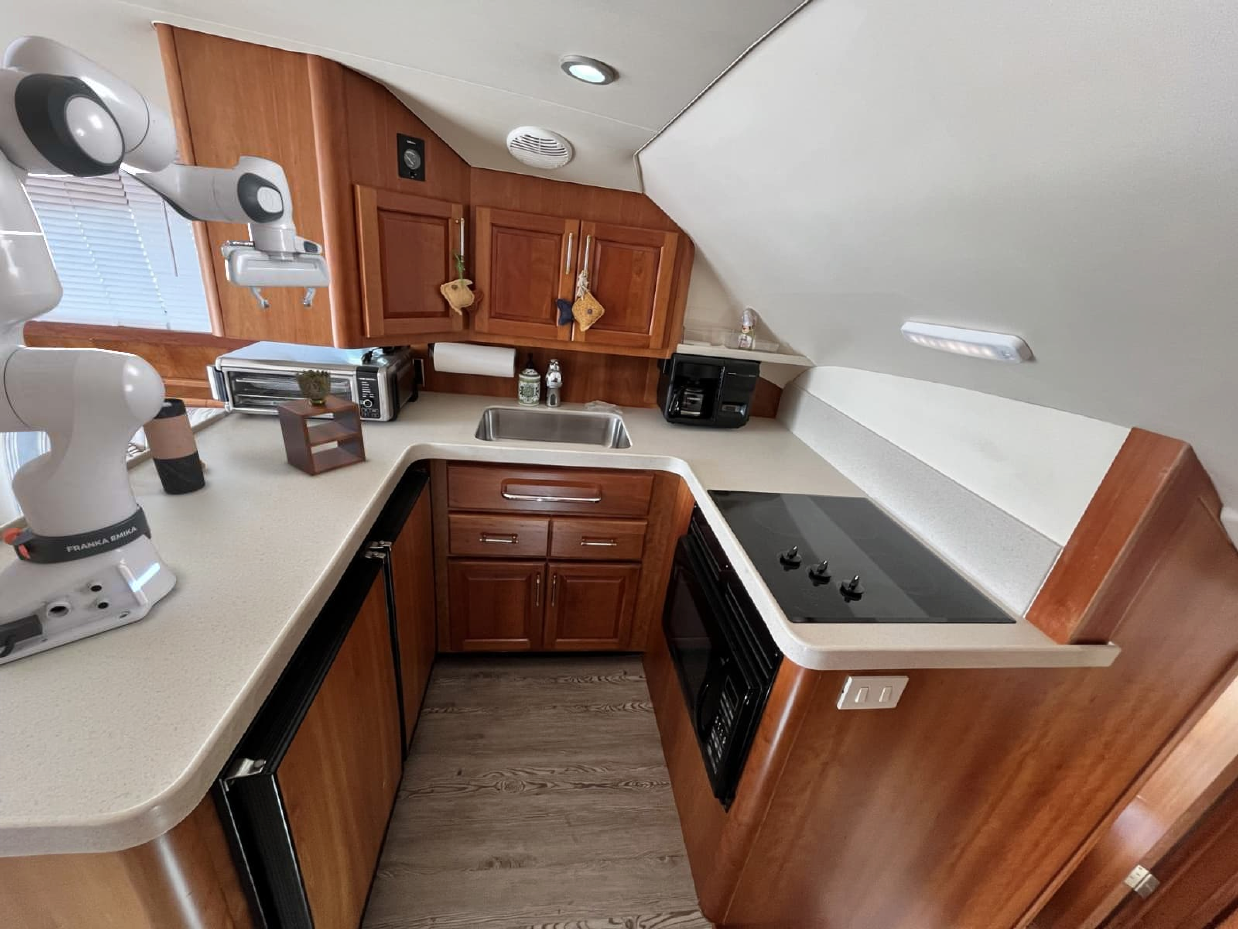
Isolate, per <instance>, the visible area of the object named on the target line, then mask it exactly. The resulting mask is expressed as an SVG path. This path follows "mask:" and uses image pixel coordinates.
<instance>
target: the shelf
mask: <svg viewBox="0 0 1238 929" xmlns="http://www.w3.org/2000/svg"><path fill="white" fill-rule="evenodd" d="M325 399H326V403H325V404H323V405H311V404H310V402H309V399H308V398H303V399H298V400H291V401H285V402H279V403H275V405H276V410H277V415H278V419H279V425H280V430H281V434H282V435H281V436H282V439H283V444H284V450H285V455H286V460H287V463H288V465H290V466H293V467H294V468H296V469H298V470H300V471H302V472H303V473H305V474H307V475H308V476H311V477H314V476H319V475H322V474H325V473H329V472H333V471H336V470H340V469H343V468H346V467H350V466H353V465H357V464H360V463H363V462H367V457H366V450H365V443H364V442H365V441H364V436H363V435H364V434H363V428H362V421H361V413H360V404H359V403H357V402H355V401H352V400H349V399H347V398H344V397H342V396H339V395H338V394H337V395H336V394H329V395H328V396H327V397H326V398H325ZM328 414H332V418H333V421H329V422H324V423H321V424H315V425H311V426H308V422H307V418H312V417H317V416H322V415H323V416H324V415H328ZM334 442H336V444H337V445H336V447H333V448H330V449H329V448H328V449H325V450H320V451H317V452H313V450H312V448H314V447H318V446H323V445H327V444H330V443H334Z"/></svg>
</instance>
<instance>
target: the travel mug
mask: <svg viewBox="0 0 1238 929" xmlns="http://www.w3.org/2000/svg"><path fill="white" fill-rule="evenodd" d="M142 429H143V433H144V436H145V439H146V442H147V445H148V448H149V449H148V450H149V452H150V455H151V458H152V461H153V464H154V466H155V469H156V471H157V475H158V477H159V480H160V483H161V485H162V488H163V490H164V492H165V494H167V495H175V496H177V495H186V494H191V493H194V492H197V491H199V490H201V489H203V488H204V487H205V486H206V480H205V479H206V478H205V476H204V470H202V466H201V462H200V460H201V458H200V454H199V450H198V446H197V442H196V439H195V436H194V432H193V429H192V426H191V423H190V419H189V414H188V411H187V408H186V405H185V401H184V400H183V399H181V398H175V397H165V400H164V403H163V406H162V408H161V410H160V411H159V412H158V414H157V415H156V416H155V417H154V418H153V419H152V420H150V421H149V422H147V423H146V424H145V425H144V426H142Z"/></svg>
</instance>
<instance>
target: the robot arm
mask: <svg viewBox="0 0 1238 929" xmlns="http://www.w3.org/2000/svg"><path fill="white" fill-rule="evenodd" d="M1 61H2V62H1V65H2V66H1V67H2V68H1V67H0V434H5V433H27V432H28V433H31V432H41V433H46V435H47V438H48V439H49V444H50V450H49V451H46V452H44V453H42V454H40V455H38V456H36V457H33V458H32V459H30V460H28V461H27V462H26V463H24V464H23V465H21V466H20V467H19V468H18V469H17V470H16V471H15V473H14V475H13V477H12V480H11V490H12V492H13V494H14V497H15V499H16V502H17V503H18V506H19V507H20V510H21V512H22V514H23V517H24V519H25V521H26V523H27V525H28V527H27V528H26V529H25V530H24V531H23V529H21V528H20V529H19V528H18V527H11V528H7V529H6V530H4V531H3V533H1V539H3V541H4V543H5V544H7V545H9V546H12V547H13V550H14V552H15V554H16V556H17V558H15V560H13V561H12V562H11V563H10V564H9V565H7V566H6V567H5V568H4V569H3V570H1V571H0V665H2V664H3V665H4V664H6V663H9V662H12V661H16V660H19V659H21V658H22V659H23V658H25V657H29V656H31V655H35V654H37V653H41V652H44V651H47V650H51V649H53V648H56V647H58V646H63V645H65V644H68V643H72V642H74V641H77V640H80V639H84V638H87V637H90V636H94V635H97V634H100V633H103V632H105V631H109V630H112V629H115V628H118V627H121V626H124V625H128V624H131V623H134V622H137V621H139V620H141V619H143V618H144V617H146V616H147V615H148V613H149V612H150V610H151V609H152V607H153V606H154V605H155V604H156V603H158V602H159V601H160V600H162V599H163V598H164V597H165V596H167V595H168V594H169V593H170V592H171V591H172V590H173V588H174V587H175V586H176V583H177V576H176V574H175V573H174V572H173V571H172V569H170V567H169V566H168V565H167V564H166V563H165V561H164V560H163V558H162V557H161V555H160V554H159V551H158V549H157V548H156V546H155V545H154V542H153V540H152V533H151V531H152V530H151V527H150V523H149V521H148V518H147V515H146V512H145V510H143V507H142V506H140V504H139V503H138V502H137V500H136V498H135V495H134V491H133V488H132V484H131V480H130V477H129V472H128V466H127V455H128V454H127V453H128V449H129V447H130V444H131V442H132V439H133V438H134V437H135V435H136V433H138V432H139V431H140V429H141V428H143V426H144V425H145V424H146V423H147V422H149V421H150V420H152V419H153V418H154V417H155V416H156V415H157V414H158V412H159V411H160V410H161V408H162V406H163V403H164V400H165V398H166V388H165V384H164V381H163V379H162V377H161V375H160V374H159V372H158V370H157V369H156V368H155V367H154V366H153V365H152V364H150V363H149V361H147V360H145V358H143V357H141V356H140V355H136V354H131V353H126V352H119V351H114V350H107V349H100V348H93V347H92V348H90V347H86V348H83V347H82V348H81V347H79V348H78V347H77V348H75V347H74V348H70V347H69V348H68V347H67V348H66V347H55V348H54V347H28V346H27V344H26V342H25V339H24V327H25V325H26V323H28V322H30V321H32V320H36V319H38V318H40V317H42V316H44V315H46V314H48V313H50V312H52V311H54V310H55V309H56V308H57V307H58V306H59V304H60V303H61V300H62V298H63V295H64V288H63V286H62V282H61V280H60V278H59V273H58V270H57V268H56V265H55V262H54V259H53V257H52V253H51V251H50V248H49V245H48V242H47V239H46V236H45V234H44V230H43V228H42V225H41V222H40V219H39V217H38V215H37V212H36V210H35V207H34V206H33V202H32V201H31V199H30V197H29V195H28V193H27V191H26V183H27V180H28V176H29V175H30V176H45V177H75V178H82V179H91V178H99V177H106V176H109V175H112V174H114V173H116V172H117V171H119V170H120V171H121V172H122V173H124V174H125V175H127V176H129V177H130V178H132V179H133V180H135V181H136V182H138V183H139V184H141V185H143V186H144V187H146V188H148V189H149V190H151V191H152V192H153V193H155V194H157V195H158V196H159V197H160V198H161V199H163V200H164V201H165V202H166V203H167V204H168V205H169V206H170V207H171V208H172V209H173V210H174V211H175V212H176V213H177V214H179V215H180V216H181V217H182V218H184V219H186V220H188V221H191V222H219V223H220V222H221V223H231V224H244V225H247V226H248V232H249V238H250V240H236V239H228V240H227V241H225V242H224V243H223V244H222V245H221V252H222V257H223V259H224V260H225V271H226V278H227V281H228V282H229V283H230V284H231V285H232V286H234V287H239V288H248V291H249V293H250V294H251V295H252V296H253V297H254V298H255V299H256V301H257V306H258V308H259V309H269V308H270V304H269V300H268V299H265V298H263V297H262V295H261V294H260V293H261V288H304V291H305V292H306V295H305V297H304V298H301V302H302V306H303V307H305V308H313V306H314V305H313V299H314V296H315V294H316V292H317V291H316V288H328V287H329V286H330V284H331V278H330V272H329V267H328V264H327V261H326V259H325V258H324V256H322V254H323V247H322V245H321V244H319V243H317V242H314V241H312V240H309V239H307V238H305V237H302V236H299V235H298V232H297V227H296V225H295V223H294V220H293V211H294V207H293V202H292V197H291V191H290V188H289V184H288V180H287V176H286V175H285V171H284V169H283V167H282V166H281V165H280V164H278V163H277V162H276V161H273V160H271V159H268V158H266V157H262V156H258V155H253V154H251V155H250V154H246V155H241V156H240V157H239V158H238V164H237V165H235V166H233V167H230V168H221V167H219V168H218V167H208V166H197V165H191V164H185V163H177V162H173V161H174V159H175V157H176V155H177V151H178V137H177V136H178V135H177V133H176V132H177V131H176V129H175V126H174V124H173V122H172V120H171V118H170V117H169V116H168V115H167V114H166V112H165V111H164V110H163V109H162V108H161V107H160V106H159V105H158V104H157V103H156V102H155V101H154V100H153V99H151V98H150V97H149V96H147V95H146V94H144V93H143V92H141V91H140V90H139V89H137V88H136V87H135V86H133V85H132V84H131V83H129V82H128V81H126V80H125V79H123V78H122V77H121V76H119V75H118V74H117V73H114V71H112V70H111V69H108V68H107V67H105V66H103V65H102V64H100V63H99V62H97V61H95V60H93V59H92V58H90V57H88V56H86V55H85V54H82V52H79V51H77V50H75V49H73V48H71V47H70V46H67V45H65V44H63V43H61V42H60V41H56V40H54V39H52V38H48V37H45V36H41V35H40V36H39V35H26V36H21V37H18V38H15V39H14V40H13V41H11V42H10V43H9V44H8V45H7V47H6V48H5V50H4V52H3V55H2V59H1Z"/></svg>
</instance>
